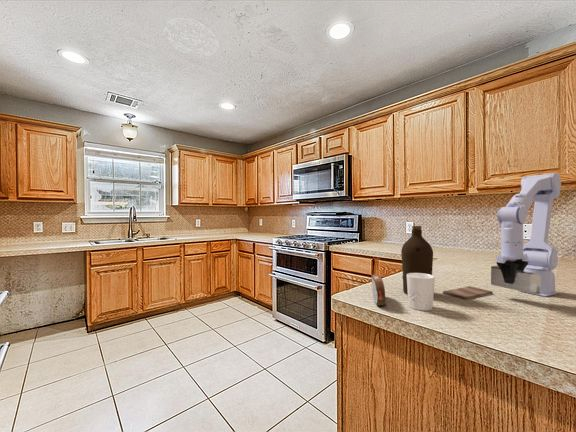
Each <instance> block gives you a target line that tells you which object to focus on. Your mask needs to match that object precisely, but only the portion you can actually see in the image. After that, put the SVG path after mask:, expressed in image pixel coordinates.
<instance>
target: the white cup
mask: <svg viewBox="0 0 576 432" xmlns="http://www.w3.org/2000/svg"><path fill="white" fill-rule="evenodd" d="M407 291H408V294H407V298H408V307H410V308H411V309H414V310H416V311H417V310H418V311H424V312H427V311H432V310H433V306H434V304H433V303H434V295H435V293H434V292H435V275H433V274H432V275H429V274H424V273H408V274H407Z"/></svg>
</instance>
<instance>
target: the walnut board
mask: <svg viewBox="0 0 576 432" xmlns="http://www.w3.org/2000/svg"><path fill="white" fill-rule="evenodd" d="M442 294H443V295H448V296H451V297H455V298H459V299H462V300H470V299H474V298H479V297H483V296H488V295H492V294H493V291H491V290H487V289H484V288H483V289H482V288H478V287H474V286H464V287H459V288H455V289H448V290H444V291H443V290H442Z"/></svg>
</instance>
